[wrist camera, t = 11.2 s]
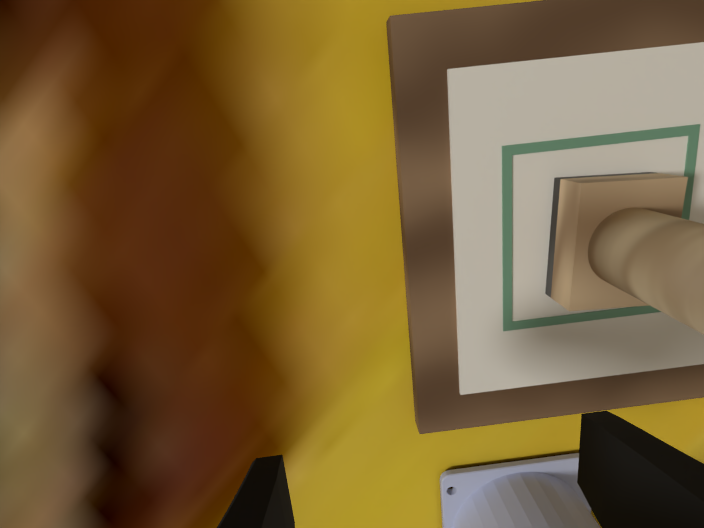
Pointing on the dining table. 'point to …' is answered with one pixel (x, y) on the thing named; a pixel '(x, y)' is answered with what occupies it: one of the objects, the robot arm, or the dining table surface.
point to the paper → (536, 206)
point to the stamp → (626, 246)
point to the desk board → (436, 191)
